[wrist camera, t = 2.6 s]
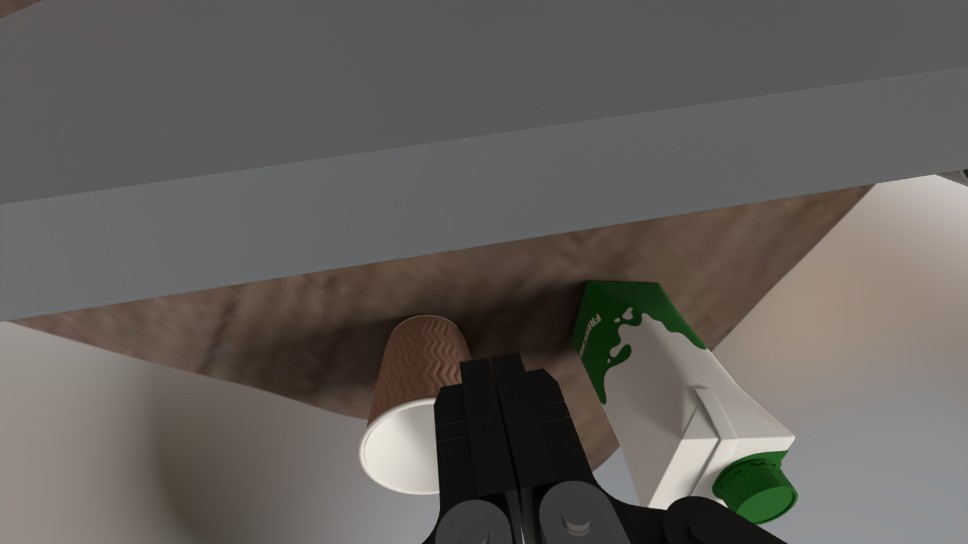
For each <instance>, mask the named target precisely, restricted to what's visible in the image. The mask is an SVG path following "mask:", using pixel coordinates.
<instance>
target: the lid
mask: <svg viewBox="0 0 968 544" xmlns="http://www.w3.org/2000/svg"><path fill="white" fill-rule="evenodd" d="M964 169H968V0H41V1H39V2H37V3H34V4H32V5H30V6H28V7H25V8H23V9H21V10H19V11H16V12H14V13H12V14H9V15H7V16H5V17H3V18H0V322H2V321H8V320H15V319H21V318H27V317H34V316H40V315H46V314H53V313H59V312H65V311H72V310H78V309H84V308H91V307H97V306H103V305H110V304H116V303H122V302H129V301H135V300H141V299H148V298H154V297H160V296H167V295H173V294H179V293H186V292H192V291H198V290H205V289H211V288H217V287H224V286H230V285H236V284H243V283H249V282H255V281H262V280H268V279H274V278H281V277H287V276H293V275H300V274H306V273H312V272H319V271H325V270H331V269H338V268H344V267H350V266H357V265H363V264H369V263H376V262H382V261H388V260H395V259H401V258H407V257H414V256H420V255H426V254H433V253H439V252H445V251H452V250H458V249H464V248H471V247H477V246H483V245H490V244H496V243H502V242H509V241H515V240H521V239H528V238H534V237H540V236H547V235H553V234H559V233H566V232H572V231H578V230H585V229H591V228H597V227H604V226H610V225H616V224H622V223H629V222H635V221H641V220H648V219H654V218H660V217H667V216H673V215H679V214H686V213H692V212H698V211H705V210H711V209H717V208H724V207H730V206H736V205H743V204H749V203H755V202H762V201H768V200H774V199H781V198H787V197H793V196H800V195H806V194H812V193H819V192H825V191H831V190H838V189H844V188H850V187H857V186H863V185H869V184H876V183H882V182H888V181H895V180H900V179H907V178H913V177H920V176H926V175H933V174H939V173H945V172H952V171H958V170H964Z"/></svg>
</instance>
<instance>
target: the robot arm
mask: <svg viewBox="0 0 968 544" xmlns="http://www.w3.org/2000/svg"><path fill="white" fill-rule="evenodd" d="M935 175H938V176H941V177H944V178H946V179H949V180H952V181H954V182H957V183H960V184H962V185H965V186H968V169H964V170H958V171H952V172H945V173H939V174H935ZM490 364H491V369H490V365H489V360H488V357H483V358H477V359H472V360H466V361H460V362H459V366H460V373H461V380H462V383H460V384H455V385H449V386H444V387H441V388H440V390H439V393H438V395H437V398H436V400H435V402H434V405H433V407H434V421H435V436H436V451H437V465H438V480H439V494H440V512H439V517H438V520H437V523H436V525H435V527H434V529H433V531H432V532H431V534H430V535H429V537H428V538H427V539H426V540H425V541H424V542H423V543H422V544H523V541H522V533H523V537H524V542H525V544H787V543H786V542H784V541H782V540H781V539H779V538H777V537H776V536H774V535H772V534H771V533H769V532H767V531H766V530H764V529H762V528H760V527H759V526H757V525H756V524H754V523H752V522H751V521H749V520H747V519H746V518H744V517H742V516H741V515H739V514H737V513H736V512H734V511H732V510H730V509H729V508H727V507H725V506H724V505H722V504H720V503H718V502H716V501H714V500H712V499H709V498H706V497H701V496H686V497H682V498H680V499H677V500H675V501H674V502H673V503H672V504H671V505H670V506H669V507H668V508H667V510H664V509H657V508H649V507H641V506H635V505H629V504H627V503H624V502H621V501H619V500H617V499H615V498H614V497H612V496H611V495H609V494H608V493H607V492H605V491H604V490H603V489H602V488H601V486H600V485H599V484H598V483H597V481H596V480H595V478H594V476H593V474H592V471H591V469H590V466H589V463H588V461H587V458H586V455H585V453H584V450H583V448H582V445H581V442H580V440H579V437H578V434H577V432H576V429H575V426H574V424H573V421H572V419H571V417H570V413H569V411H568V408H567V405H566V404H565V401H564V398H563V395H562V392H561V390H560V387H559V384H558V382H557V381H556V380H555V379H554V378H553V377H552V376H551V375H550V374H549V373H548V372H547V371H546V370H545V369H538V370H532V371H527V372H525V369H524V366H523V362H522V359H521V356H520V353H519V351H516V352H511V353H505V354H499V355H494V356H490ZM491 372H492V374H491ZM521 528H522V532H521Z"/></svg>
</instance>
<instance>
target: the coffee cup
mask: <svg viewBox="0 0 968 544" xmlns="http://www.w3.org/2000/svg"><path fill="white" fill-rule="evenodd" d="M466 360H472V358H471V355H470V352H469V350H468V347H467V344H466V341H465V339H464V337H463V336H462V334H461V332H460V330H459V329H458V327H457V326H456V325H455V324H454V323H453V322H451V321H449V320H448V319H446V318H443V317H441V316H436V315H418V316H414V317H411V318H409V319H407V320H404V321H403V322H402V323H400V324H399V325H398V326H397V327H396V328H395V329H394V330H393V332H392V333H391V335H390V338H389V340H388V342H387V345H386V347H385V351H384V356H383V360H382V364H381V368H380V373H379V377H378V380H377V382H376V386H375V392H374V397H373V402H372V406H371V411H370V415H369V419H368V423H367V428H366V430H365V432H364V433H363V435H362V437H361V439H360V443H359V447H358V456H359V461H360V463H361V465H362V468H363V470H364V471H365V472H366V474H367V475H368V476H369V477H370V478H371V479H372V480H374V481H375V482H377V483H378V484H380V485H381V486H383V487H385V488H388V489H390V490H394V491H397V492H401V493H407V494H417V495H425V494H437V493H439V480H438V465H437V451H436V436H435V421H434V407H433V405H434V402H435V400H436V398H437V395H438V393H439V390H440V388H441V387H444V386H449V385H455V384H460V383H462V380H461V373H460V366H459V362H460V361H466ZM364 446H365V447H364Z"/></svg>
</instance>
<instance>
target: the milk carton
mask: <svg viewBox="0 0 968 544" xmlns="http://www.w3.org/2000/svg"><path fill="white" fill-rule="evenodd" d="M571 342H572V343H573V345H574V347H575V349H576V351H577V353H578V355H579V357H580V359H581V361H582V363H583V365H584V367H585V369H586V371H587V373H588V376H589V378H590V380H591V382H592V384H593V386H594V389H595V391H596V393H597V395H598V397H599V400H600V402H601V404H602V406H603V408H604V411H605V413H606V415H607V417H608V419H609V421H610V424H611V426H612V428H613V430H614V432H615V435H616V437H617V439H618V441H619V444H620V446H621V449H622V451H623V454H624V457H625V460H626V463H627V466H628V469H629V472H630V475H631V478H632V481H633V484H634V487H635V490H636V493H637V496H638V499H639V502H640V506H641V507H649V508H657V509H664V510H667V508H668V507H669V506H670V505H671V504H672V503H673V502H674V501H675V500H677V499H680V498H682V497H686V496H701V497H706V498H709V499H712V500H714V501H716V502H718V503H720V504H722V505H724V506H725V507H727V508H729V509H730V510H732V511H734V512H736V513H737V514H739V515H741V516H742V517H744V518H746V519H747V520H749V521H751V522H752V523H754V524H756V525H760V524H764V523H767V522H770V521H773V520H775V519H777V518H779V517H781V516H782V515H784V514H785V513H786V512H788V511H789V510H790V509H791V508H792V507H793V506H794V504H795V503H796V501H797V498H798V494H797V492H796V490H795V489H794V487H793V486H792V485H791V483H790V482H789V481H788V479H787V478H786V477H785V475H784V474H783V472H782V471H781V469H780V467H781V460H782V459H783V458H784V457H785V455H786V454H787V452H788V450H787V449H788V447H789V446H790V445H791V443H792V442H793V440H794V439H795V436H794V435H793V434H792V433H791V432H790V431H788V430H787V429H786V428H785V427H784V426H783V425H782V424H780V423H779V422H778V421H777V420H776V419H775V418H774V417H772V416H771V415H770V414H769V413H768V412H767V411H765V410H764V409H763V408H762V407H761V406H760V405H759V404H758V403H756V402H755V401H754V400H753V399H752V398H751V397H750V396H748V395H747V394H746V393H745V392H744V391H743V390H742V389H741V388H740V387H739V386H738V385H737V384H736V383H735V382H734V380H733V379H732V378H731V377H730V375H729V374H728V373H727V372H726V371H725V369H724V368H723V367H722V366H721V364H720V363H719V362H718V361H717V360H716V359H715V357H714V356H713V355H712V353H711V352H710V351H709V350H708V348H707V347H706V346H705V345H704V344H703V342H702V341H701V340H700V339H699V337H698V336H697V335H696V334H695V332H694V331H693V330H692V329H691V328H690V326H689V325H688V324H687V323H686V321H685V320H684V319H683V318H682V316H681V315H680V314H679V312H678V311H677V310H676V308H675V307H674V305H673V304H672V302H671V301H670V299H669V298H668V296H667V295H666V293H665V292H664V290H663V289H662V287H661V286H660V284H659V283H639V282H610V281H587V284H586V288H585V291H584V295H583V298H582V302H581V305H580V309H579V313H578V316H577V320H576V323H575V327H574V330H573V334H572V337H571Z"/></svg>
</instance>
